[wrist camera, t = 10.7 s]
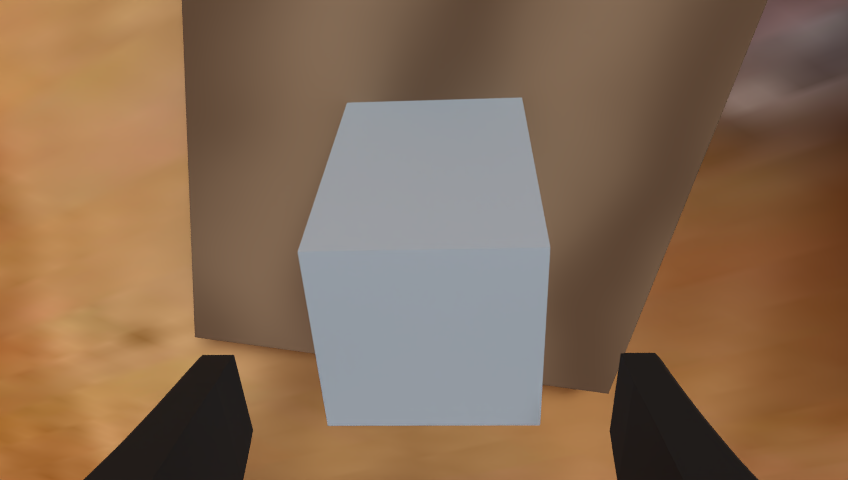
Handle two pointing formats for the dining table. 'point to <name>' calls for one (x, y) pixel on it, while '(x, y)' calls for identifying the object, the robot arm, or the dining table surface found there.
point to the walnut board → (448, 80)
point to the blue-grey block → (429, 266)
